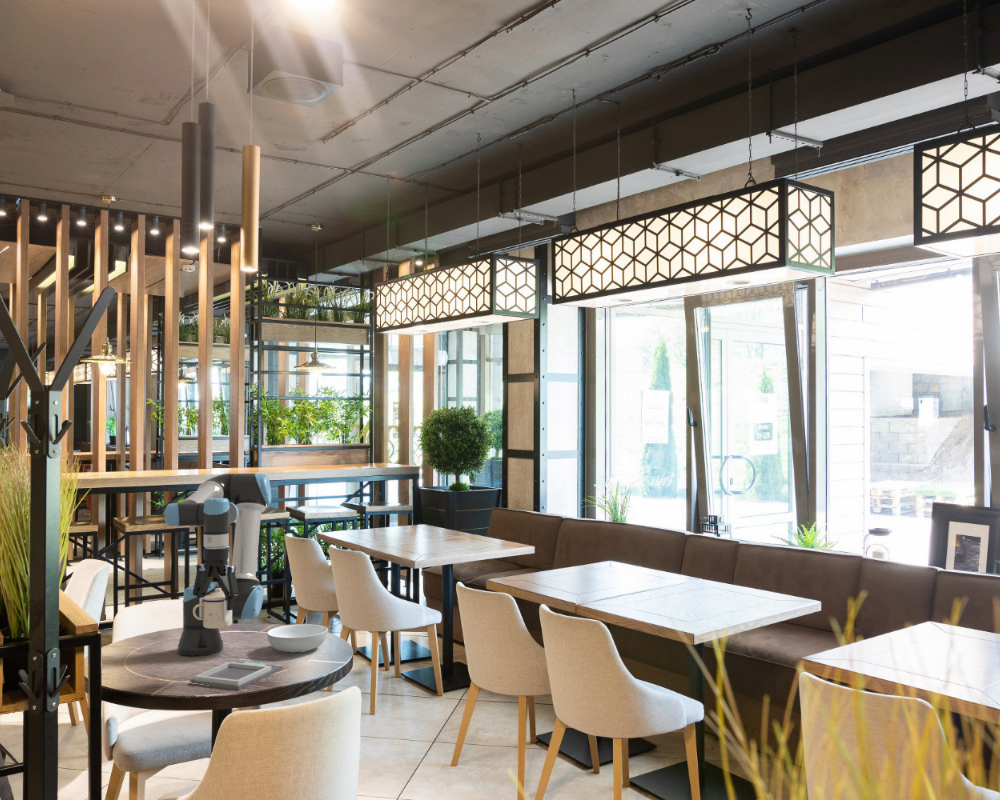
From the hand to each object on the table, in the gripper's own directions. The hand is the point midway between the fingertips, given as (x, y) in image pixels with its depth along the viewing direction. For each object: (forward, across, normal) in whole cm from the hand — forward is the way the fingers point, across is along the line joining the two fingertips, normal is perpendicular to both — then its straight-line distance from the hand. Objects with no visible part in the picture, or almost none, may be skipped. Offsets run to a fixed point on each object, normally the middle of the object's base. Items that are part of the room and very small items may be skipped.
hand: (215, 619), depth 255 cm
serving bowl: (+18, +4, +37) cm, 41 cm away
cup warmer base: (+18, +6, +4) cm, 19 cm away
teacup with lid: (+2, -1, 0) cm, 3 cm away
